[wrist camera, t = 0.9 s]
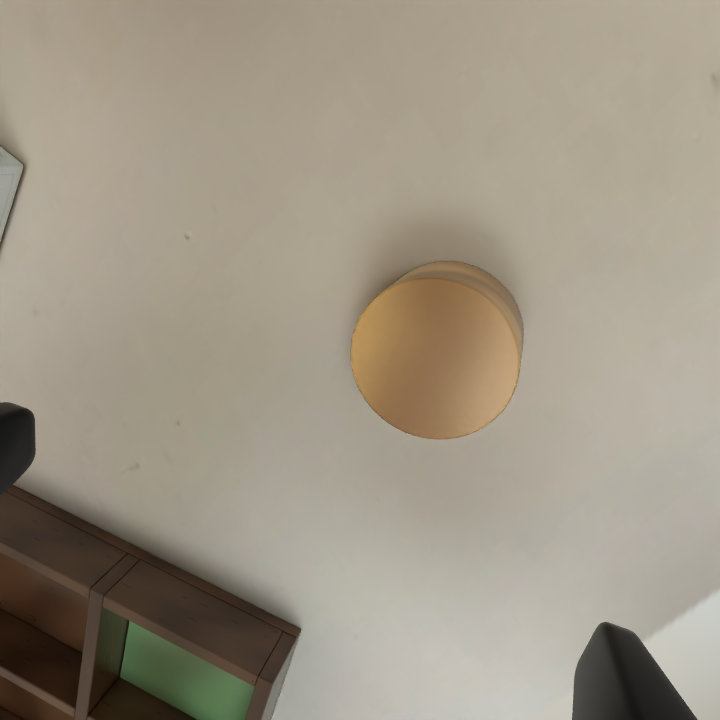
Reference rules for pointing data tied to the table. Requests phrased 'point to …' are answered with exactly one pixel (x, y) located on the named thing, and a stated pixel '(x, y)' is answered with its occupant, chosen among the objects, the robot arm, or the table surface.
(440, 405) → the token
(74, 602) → the compartment tray
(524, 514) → the table surface
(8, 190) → the white packaging box
